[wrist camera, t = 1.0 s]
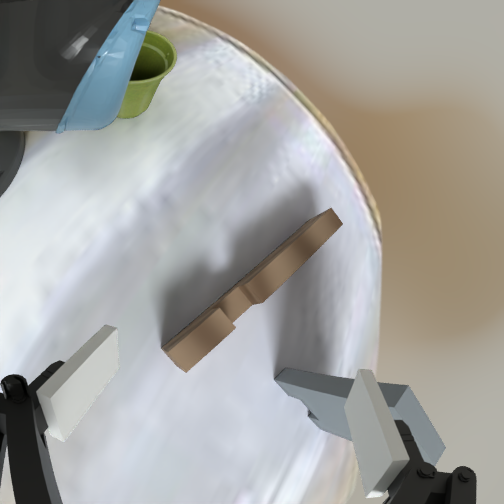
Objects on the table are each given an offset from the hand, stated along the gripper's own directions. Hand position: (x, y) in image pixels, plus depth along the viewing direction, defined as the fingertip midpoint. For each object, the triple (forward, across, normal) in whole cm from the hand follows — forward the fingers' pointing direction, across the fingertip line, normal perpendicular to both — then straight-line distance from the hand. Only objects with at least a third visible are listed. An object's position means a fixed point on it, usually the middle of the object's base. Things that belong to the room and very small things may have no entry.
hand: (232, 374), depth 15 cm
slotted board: (+20, 0, -2) cm, 20 cm away
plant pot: (+23, -19, +18) cm, 35 cm away
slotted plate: (+16, +8, -14) cm, 23 cm away
